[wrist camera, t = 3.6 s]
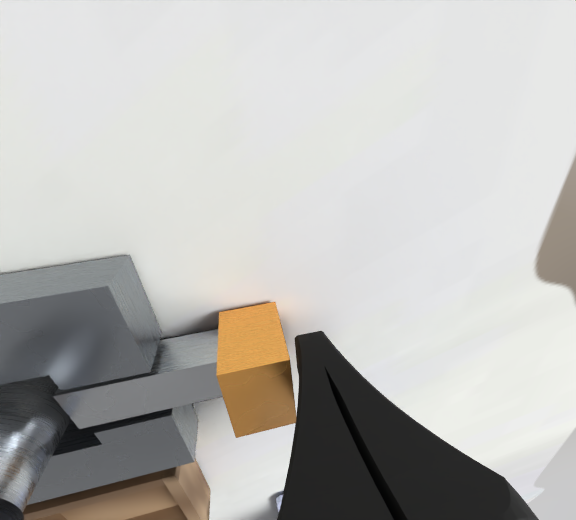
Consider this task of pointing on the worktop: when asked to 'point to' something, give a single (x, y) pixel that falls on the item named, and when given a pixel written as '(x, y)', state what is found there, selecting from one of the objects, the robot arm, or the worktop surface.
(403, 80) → the worktop surface
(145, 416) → the socket
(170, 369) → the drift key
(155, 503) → the square wooden tray
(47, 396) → the silver metal canister
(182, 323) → the worktop surface
